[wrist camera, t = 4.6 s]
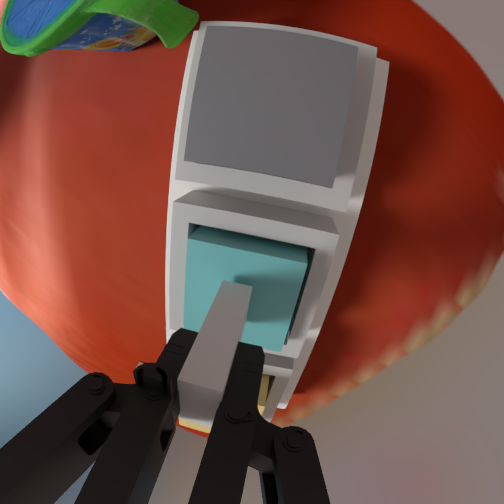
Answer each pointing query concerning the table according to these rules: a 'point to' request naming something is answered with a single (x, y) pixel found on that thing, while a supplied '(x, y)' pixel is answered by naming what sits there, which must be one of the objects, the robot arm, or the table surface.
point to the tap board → (277, 209)
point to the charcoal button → (271, 102)
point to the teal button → (244, 280)
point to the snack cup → (92, 24)
